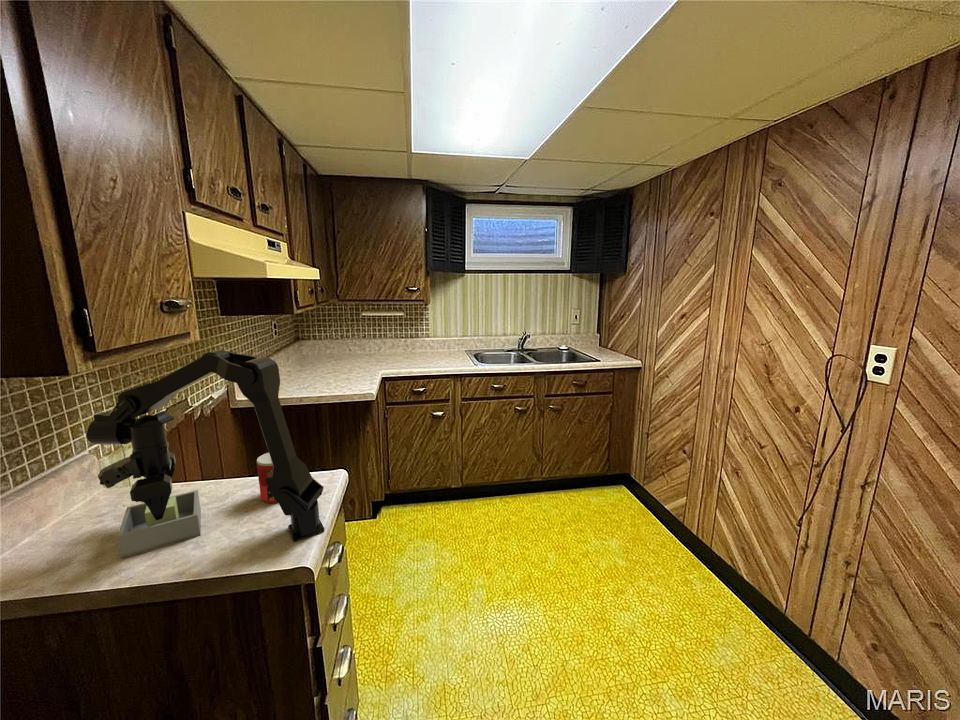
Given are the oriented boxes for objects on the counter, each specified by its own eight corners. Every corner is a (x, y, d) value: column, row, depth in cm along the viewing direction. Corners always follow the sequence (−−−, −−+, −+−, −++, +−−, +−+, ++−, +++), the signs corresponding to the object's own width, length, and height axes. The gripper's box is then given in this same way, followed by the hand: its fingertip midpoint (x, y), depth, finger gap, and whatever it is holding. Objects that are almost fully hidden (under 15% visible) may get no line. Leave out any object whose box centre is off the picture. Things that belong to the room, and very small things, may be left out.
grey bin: (200, 535, 85) (197, 514, 84) (121, 559, 78) (117, 536, 77) (200, 508, 95) (197, 490, 94) (130, 527, 88) (127, 507, 87)
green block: (178, 530, 86) (174, 505, 85) (148, 538, 83) (144, 513, 82) (179, 519, 90) (175, 496, 89) (151, 527, 87) (147, 502, 86)
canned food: (269, 507, 96) (265, 466, 94) (255, 497, 101) (250, 457, 99) (299, 494, 102) (295, 455, 100) (284, 485, 107) (280, 448, 105)
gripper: (107, 438, 85) (119, 502, 88) (87, 469, 71) (102, 545, 73) (170, 427, 92) (180, 487, 95) (165, 454, 77) (176, 525, 80)
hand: (160, 509), depth 85 cm, fingers open, 9 cm apart
